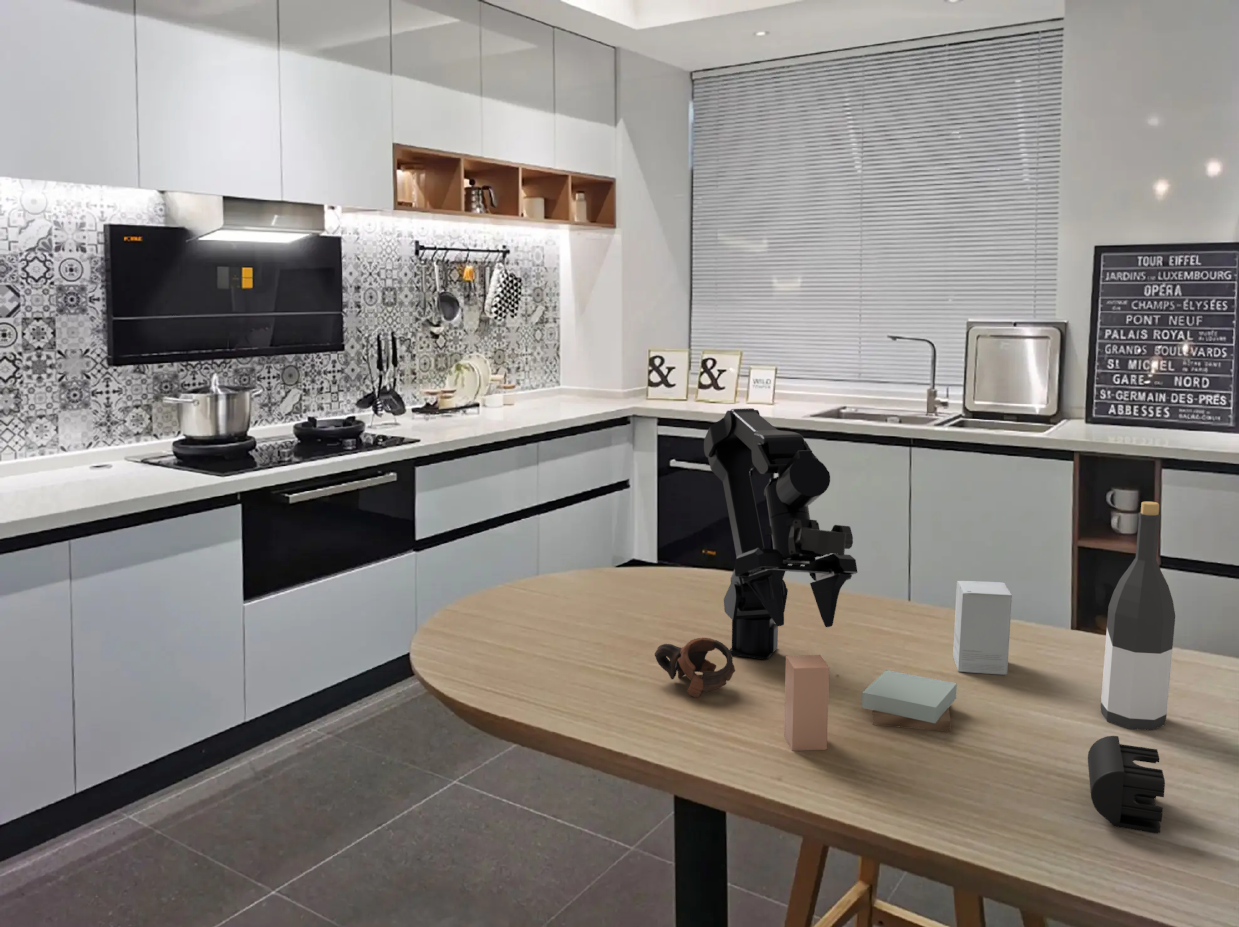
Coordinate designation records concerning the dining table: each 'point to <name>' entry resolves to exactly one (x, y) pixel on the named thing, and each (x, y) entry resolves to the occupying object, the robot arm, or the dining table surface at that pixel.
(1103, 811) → the end cap
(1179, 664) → the dining table surface
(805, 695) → the terracotta block
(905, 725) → the slab lower
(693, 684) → the brown curved piece
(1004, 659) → the supplement box
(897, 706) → the slab upper
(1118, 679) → the wine bottle
